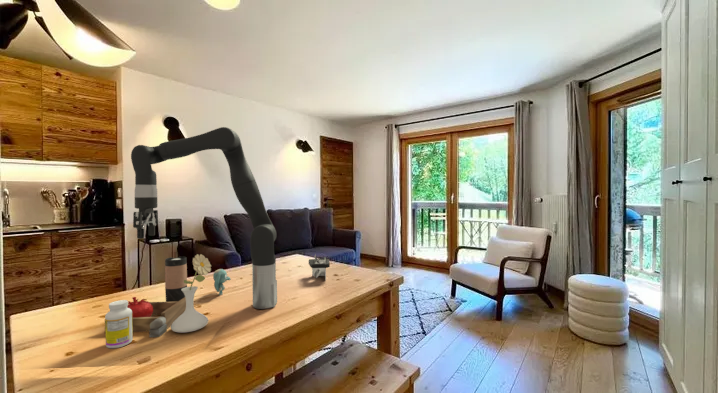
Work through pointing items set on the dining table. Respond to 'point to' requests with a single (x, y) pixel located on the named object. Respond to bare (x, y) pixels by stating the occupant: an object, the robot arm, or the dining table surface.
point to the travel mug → (175, 278)
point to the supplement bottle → (118, 324)
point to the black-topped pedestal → (319, 266)
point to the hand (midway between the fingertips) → (146, 237)
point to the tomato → (140, 308)
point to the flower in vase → (191, 317)
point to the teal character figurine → (220, 280)
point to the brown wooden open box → (162, 323)
